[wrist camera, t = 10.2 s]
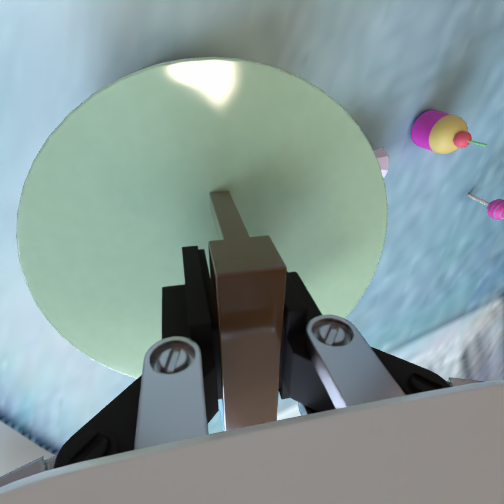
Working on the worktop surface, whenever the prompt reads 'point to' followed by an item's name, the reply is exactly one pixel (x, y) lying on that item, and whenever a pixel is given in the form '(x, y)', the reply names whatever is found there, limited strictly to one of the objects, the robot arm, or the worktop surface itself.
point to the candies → (442, 145)
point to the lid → (201, 215)
